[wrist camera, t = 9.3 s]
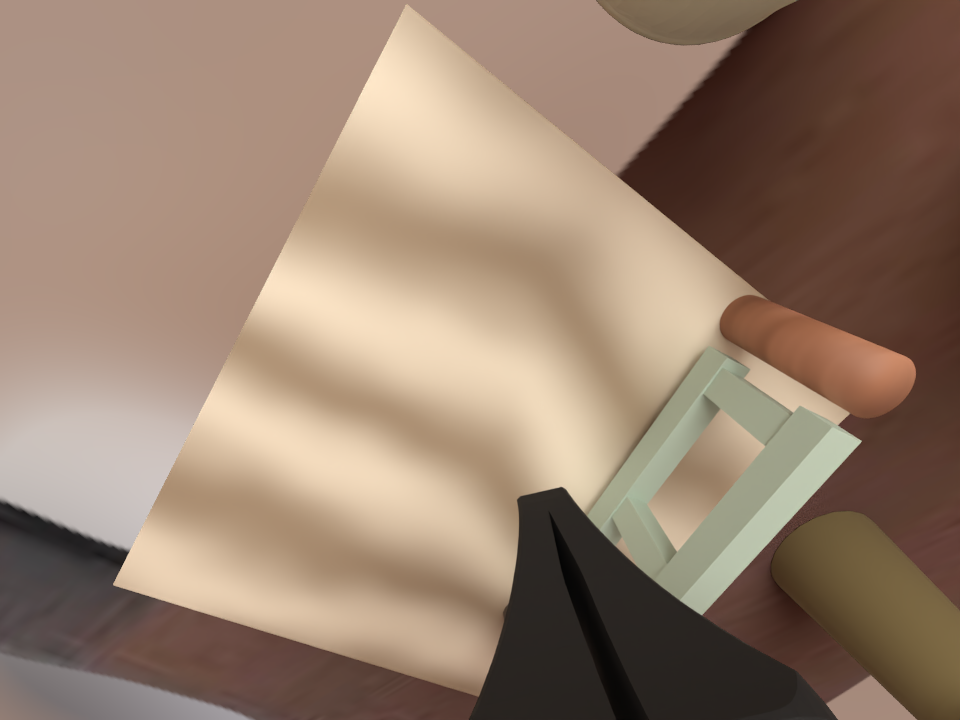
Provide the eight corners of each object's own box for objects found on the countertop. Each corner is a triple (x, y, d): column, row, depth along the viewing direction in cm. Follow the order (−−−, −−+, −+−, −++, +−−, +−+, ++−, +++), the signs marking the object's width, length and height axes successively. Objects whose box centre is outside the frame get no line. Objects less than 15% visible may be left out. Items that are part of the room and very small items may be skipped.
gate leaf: (547, 603, 23) (584, 742, 17) (527, 598, 23) (558, 738, 17) (731, 357, 18) (861, 441, 13) (708, 345, 18) (832, 426, 12)
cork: (882, 564, 26) (1170, 822, 16) (781, 606, 26) (997, 879, 16) (871, 493, 23) (1203, 743, 13) (760, 541, 24) (998, 814, 14)
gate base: (532, 706, 28) (565, 886, 21) (118, 577, 21) (-40, 788, 14) (868, 384, 20) (1093, 498, 13) (407, 8, 13) (380, -162, 6)
